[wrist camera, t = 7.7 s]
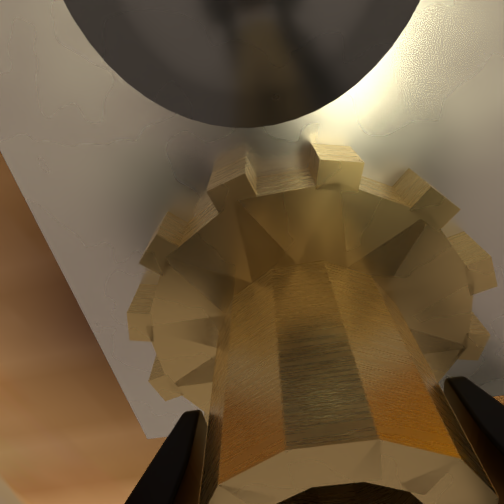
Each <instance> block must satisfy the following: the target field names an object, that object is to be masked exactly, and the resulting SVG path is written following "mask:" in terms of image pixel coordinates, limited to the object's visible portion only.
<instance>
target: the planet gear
mask: <svg viewBox="0 0 504 504" xmlns="http://www.w3.org/2000/svg"><path fill="white" fill-rule="evenodd" d="M363 168H364V161H363V160H362V159H361V158H360V157H359V156H358V155H357V153H356V152H355V151H354V150H353V149H352V148H351V147H350V146H338V145H325V144H311V151H310V157H309V164H308V168H302V169H297V170H292V171H286V172H281V173H275V174H270V175H264V176H259V177H256V175H255V173H254V171H253V169H252V167H251V165H250V163H249V161H248V159H247V157H246V156H245V157H243V158H241V159H239V160H237V161H234V162H232V163H230V164H228V165H226V166H224V167H222V168H220V169H218V170H216V171H214V172H212V174H211V177H210V181H209V184H208V187H207V191H206V192H207V194H208V196H209V197H210V199H211V201H212V202H211V203H210V204H209V205H208V206H207V207H205V208H204V209H203V210H202V211H201V212H199V213H198V214H197V215H196V216H195V217H193V218H192V219H191V220H190V221H189V222H188V223H187V222H186V221H184V220H182V219H181V218H179V217H177V216H175V215H174V214H172V213H170V212H169V211H168V212H167V213H166V215H165V216H164V218H163V220H162V221H161V223H160V225H159V226H158V228H157V229H156V231H155V233H154V234H153V236H152V237H151V239H150V241H149V243H148V245H147V247H146V249H145V251H144V253H143V255H142V257H141V259H140V261H139V264H141V265H143V266H145V267H146V268H148V269H150V270H152V271H154V272H156V273H158V274H160V277H159V281H158V285H152V284H140V285H139V287H138V289H137V291H136V294H135V296H134V298H133V300H132V302H131V305H130V307H129V309H128V311H127V321H128V331H129V340H130V341H147V342H152V345H153V347H154V349H155V352H156V357H155V361H154V364H153V367H152V370H151V374H150V377H149V380H148V382H149V383H150V384H151V385H152V386H153V388H154V389H155V390H156V391H157V392H158V393H159V395H160V396H161V397H162V398H163V399H164V400H165V401H168V400H171V399H173V398H176V397H179V396H183V397H185V398H186V399H188V400H189V401H190V402H192V403H193V404H194V405H196V406H197V407H199V408H200V409H201V410H203V411H204V418H205V421H206V423H207V435H206V443H205V452H204V460H203V469H202V477H201V486H200V494H199V503H198V504H498V499H499V496H498V495H497V493H496V491H495V489H494V487H493V485H492V483H491V481H490V479H489V478H488V476H487V474H486V472H485V470H484V468H483V466H482V464H481V463H480V461H479V459H478V457H477V455H476V453H475V451H474V449H473V448H472V446H471V444H470V442H469V440H468V438H467V436H466V434H465V432H464V431H463V429H462V427H461V425H460V423H459V421H458V419H457V417H456V416H455V414H454V412H453V410H452V408H451V406H450V404H449V402H448V400H447V399H446V397H445V395H444V393H443V391H442V389H441V387H440V385H439V383H438V382H439V381H440V380H441V379H442V377H443V376H444V375H445V374H446V373H447V371H448V370H449V369H450V368H451V367H452V365H453V364H454V363H455V362H456V361H457V359H460V360H477V361H478V360H479V358H480V355H481V353H482V351H483V349H484V347H485V345H486V343H487V341H488V339H489V337H490V333H489V332H488V331H487V330H486V328H485V327H484V326H483V325H482V323H481V322H480V321H479V320H478V318H477V317H476V316H475V315H474V313H473V312H472V303H473V295H474V294H477V293H480V292H483V291H485V290H488V289H491V288H494V287H497V281H496V276H495V272H494V267H493V262H492V257H491V256H490V255H489V254H488V253H487V252H486V251H485V250H484V249H483V248H481V247H480V246H479V245H478V244H477V243H476V242H475V241H474V240H473V239H472V238H471V237H470V236H469V235H467V234H466V233H465V232H464V231H463V232H461V233H458V234H455V235H453V236H450V237H446V236H445V235H444V233H443V232H442V230H441V228H442V227H443V226H445V225H446V224H447V223H448V222H449V221H450V220H451V219H452V218H453V217H454V216H455V215H456V214H457V213H458V212H459V211H460V210H461V209H460V208H458V207H457V206H456V205H455V204H454V203H452V202H451V201H450V200H449V199H448V198H447V197H445V196H444V195H443V194H442V193H441V192H439V191H438V190H437V189H436V188H435V187H433V186H432V185H431V184H429V183H428V182H427V181H425V180H424V179H423V178H422V177H420V176H419V175H418V174H416V173H415V172H414V171H412V170H411V169H410V168H408V169H407V171H406V172H405V173H404V174H403V175H402V176H401V177H400V178H399V179H398V181H397V182H396V183H395V184H394V185H393V186H389V185H386V184H383V183H380V182H378V181H375V180H372V179H369V178H366V177H363V176H362V173H363Z"/></svg>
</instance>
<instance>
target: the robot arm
mask: <svg viewBox="0 0 504 504" xmlns="http://www.w3.org/2000/svg"><path fill="white" fill-rule="evenodd" d="M443 393H444V395H445V397H446V399H447V400H448V402H449V404H450V406H451V408H452V410H453V412H454V414H455V416H456V417H457V419H458V421H459V423H460V425H461V427H462V429H463V431H464V432H465V434H466V436H467V438H468V440H469V442H470V444H471V446H472V448H473V449H474V451H475V453H476V455H477V457H478V459H479V461H480V463H481V464H482V466H483V468H484V470H485V472H486V474H487V476H488V478H489V479H490V481H491V483H492V485H493V487H494V489H495V491H496V493H497V495H498V496H499V499H498V504H504V405H503V404H501V403H500V402H499V401H497V400H496V399H495V398H493V397H492V396H491V395H489V394H488V393H487V392H485V391H484V390H483V389H481V388H480V387H479V386H477V385H476V384H475V383H473V382H472V381H471V380H469V379H468V378H466V377H464V376H457V377H449V378H446V379H445V381H444V391H443ZM206 435H207V423H206V421H205V418H204V415H203V413H202V411H201V410H191V411H186V412H184V413H183V414H182V415H181V417H180V418H179V420H178V422H177V423H176V425H175V426H174V428H173V429H172V431H171V432H170V434H169V435H168V437H167V439H166V440H165V442H164V443H163V445H162V446H161V448H160V449H159V451H158V452H157V454H156V456H155V457H154V459H153V460H152V462H151V463H150V465H149V466H148V468H147V470H146V471H145V473H144V474H143V476H142V477H141V479H140V480H139V482H138V483H137V485H136V487H135V488H134V490H133V491H132V493H131V494H130V496H129V497H128V499H127V500H126V502H125V504H198V503H199V494H200V486H201V477H202V469H203V460H204V452H205V443H206Z"/></svg>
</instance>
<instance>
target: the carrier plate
mask: <svg viewBox="0 0 504 504" xmlns="http://www.w3.org/2000/svg"><path fill="white" fill-rule="evenodd" d="M311 144H325V145H338V146H350V147H351V148H352V149H353V150H354V151H355V152H356V153H357V155H358V156H359V157H360V158H361V159H362V160H363V161H364V168H363V173H362V176H363V177H366V178H369V179H372V180H375V181H378V182H380V183H383V184H386V185H389V186H393V185H394V184H395V183H396V182H397V181H398V179H399V178H400V177H401V176H402V175H403V174H404V173H405V172H406V171H407V169H408V168H410V169H411V170H412V171H414V172H415V173H416V174H418V175H419V176H420V177H422V178H423V179H424V180H425V181H427V182H428V183H429V184H431V185H432V186H433V187H435V188H436V189H437V190H438V191H439V192H441V193H442V194H443V195H444V196H445V197H447V198H448V199H449V200H450V201H451V202H452V203H454V204H455V205H456V206H457V207H458V208H460V209H461V210H460V211H459V212H458V213H457V214H456V215H455V216H454V217H453V218H452V219H451V220H450V221H449V222H448V223H447V224H446V225H445V226H443V227H442V228H441V230H442V232H443V233H444V235H445V236H446V237H450V236H453V235H455V234H458V233H461V232H463V231H464V232H465V233H466V234H467V235H469V236H470V237H471V238H472V239H473V240H474V241H475V242H476V243H477V244H478V245H479V246H480V247H481V248H483V249H484V250H485V251H486V252H487V253H488V254H489V255H490V256H491V257H492V262H493V267H494V272H495V276H496V281H497V287H494V288H491V289H488V290H485V291H483V292H480V293H477V294H474V295H473V303H472V312H473V313H474V315H475V316H476V317H477V318H478V320H479V321H480V322H481V323H482V325H483V326H484V327H485V328H486V330H487V331H488V332H489V333H490V337H489V339H488V341H487V343H486V345H485V347H484V349H483V351H482V353H481V355H480V358H479V360H478V361H477V360H460V359H457V361H456V362H455V363H454V364H453V365H452V367H451V368H450V369H449V370H448V371H447V373H446V374H445V375H444V376H443V377H442V379H441V380H440V381H439V382H438V383H439V385H440V387H441V389H442V391H444V381H445V379H446V378H449V377H457V376H464V377H466V378H468V379H469V380H471V381H472V382H473V383H475V384H476V385H477V386H479V387H480V388H481V389H483V390H484V391H485V392H487V393H488V394H489V395H491V396H500V395H504V0H0V151H1V153H2V155H3V157H4V159H5V161H6V163H7V165H8V167H9V169H10V171H11V173H12V175H13V177H14V179H15V181H16V183H17V185H18V187H19V189H20V190H21V192H22V194H23V196H24V198H25V200H26V202H27V204H28V206H29V208H30V210H31V212H32V214H33V216H34V218H35V220H36V222H37V224H38V226H39V228H40V230H41V232H42V234H43V235H44V237H45V239H46V241H47V243H48V245H49V247H50V249H51V251H52V253H53V255H54V257H55V259H56V261H57V263H58V265H59V267H60V269H61V271H62V273H63V275H64V277H65V279H66V281H67V282H68V284H69V286H70V288H71V290H72V292H73V294H74V296H75V298H76V300H77V302H78V304H79V306H80V308H81V310H82V312H83V314H84V316H85V318H86V320H87V322H88V324H89V326H90V327H91V329H92V331H93V333H94V335H95V337H96V339H97V341H98V343H99V345H100V347H101V349H102V351H103V353H104V355H105V357H106V359H107V361H108V363H109V365H110V367H111V369H112V371H113V373H114V374H115V376H116V378H117V380H118V382H119V384H120V386H121V388H122V390H123V392H124V394H125V396H126V398H127V400H128V402H129V404H130V406H131V408H132V410H133V412H134V414H135V416H136V418H137V420H138V421H139V423H140V425H141V427H142V429H143V431H144V433H145V435H146V437H147V439H152V438H160V437H168V435H169V434H170V432H171V431H172V429H173V428H174V426H175V425H176V423H177V422H178V420H179V418H180V417H181V415H182V414H183V413H184V412H186V411H191V410H201V409H200V408H199V407H197V406H196V405H194V404H193V403H192V402H190V401H189V400H188V399H186V398H185V397H183V396H179V397H176V398H173V399H171V400H168V401H165V400H164V399H163V398H162V397H161V396H160V395H159V393H158V392H157V391H156V390H155V389H154V388H153V386H152V385H151V384H150V383H149V382H148V380H149V377H150V374H151V370H152V367H153V364H154V361H155V357H156V352H155V349H154V347H153V345H152V342H147V341H130V340H129V331H128V321H127V311H128V309H129V307H130V305H131V302H132V300H133V298H134V296H135V294H136V291H137V289H138V287H139V285H140V284H152V285H158V281H159V277H160V274H158V273H156V272H154V271H152V270H150V269H148V268H146V267H145V266H143V265H141V264H139V261H140V259H141V257H142V255H143V253H144V251H145V249H146V247H147V245H148V243H149V241H150V239H151V237H152V236H153V234H154V233H155V231H156V229H157V228H158V226H159V225H160V223H161V221H162V220H163V218H164V216H165V215H166V213H167V212H168V211H169V212H170V213H172V214H174V215H175V216H177V217H179V218H181V219H182V220H184V221H186V222H187V223H188V222H189V221H190V220H191V219H192V218H193V217H195V216H196V215H197V214H198V213H199V212H201V211H202V210H203V209H204V208H205V207H207V206H208V205H209V204H210V203H211V202H212V201H211V199H210V197H209V196H208V194H207V192H206V191H207V187H208V184H209V181H210V177H211V174H212V172H214V171H216V170H218V169H220V168H222V167H224V166H226V165H228V164H230V163H232V162H234V161H237V160H239V159H241V158H243V157H245V156H246V157H247V159H248V161H249V163H250V165H251V167H252V169H253V171H254V173H255V175H256V177H259V176H264V175H270V174H275V173H281V172H286V171H292V170H297V169H302V168H308V164H309V157H310V151H311ZM201 411H202V413H203V415H204V411H203V410H201Z"/></svg>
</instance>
